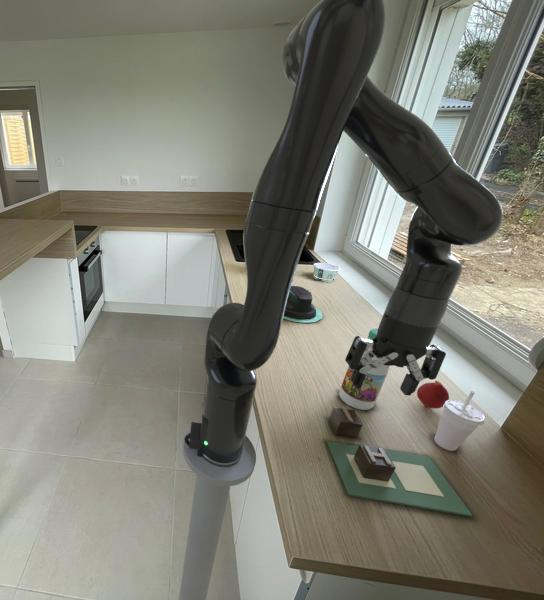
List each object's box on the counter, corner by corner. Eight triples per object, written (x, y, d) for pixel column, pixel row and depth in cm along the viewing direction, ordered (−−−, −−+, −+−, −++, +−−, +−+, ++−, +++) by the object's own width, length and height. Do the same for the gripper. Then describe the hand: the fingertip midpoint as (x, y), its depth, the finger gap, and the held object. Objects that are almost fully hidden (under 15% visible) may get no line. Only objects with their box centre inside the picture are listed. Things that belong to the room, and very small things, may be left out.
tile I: (335, 434, 72) (340, 420, 70) (328, 419, 76) (333, 405, 74) (357, 438, 71) (363, 423, 69) (349, 422, 75) (354, 408, 73)
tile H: (363, 478, 62) (370, 462, 60) (353, 458, 66) (359, 443, 64) (388, 482, 61) (396, 466, 59) (377, 461, 65) (384, 446, 63)
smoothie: (454, 436, 72) (484, 387, 66) (471, 459, 67) (505, 408, 61) (421, 429, 74) (447, 380, 68) (434, 451, 68) (464, 400, 63)
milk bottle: (343, 385, 87) (367, 321, 79) (376, 400, 82) (405, 333, 74) (334, 399, 82) (358, 332, 74) (368, 415, 77) (399, 345, 69)
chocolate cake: (256, 300, 134) (294, 296, 141) (278, 338, 124) (318, 332, 130) (275, 277, 123) (315, 273, 129) (301, 317, 112) (343, 311, 119)
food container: (318, 272, 171) (321, 261, 168) (341, 280, 162) (345, 267, 159) (305, 277, 165) (308, 264, 162) (328, 284, 156) (332, 271, 153)
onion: (434, 401, 82) (447, 376, 79) (446, 417, 77) (461, 392, 74) (408, 396, 84) (420, 372, 81) (418, 412, 79) (431, 386, 76)
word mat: (348, 495, 59) (349, 493, 59) (326, 442, 70) (327, 440, 69) (471, 517, 56) (472, 514, 56) (428, 458, 67) (430, 456, 67)
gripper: (444, 310, 57) (410, 382, 64) (358, 301, 60) (333, 372, 66) (475, 330, 51) (433, 409, 57) (376, 320, 53) (347, 396, 60)
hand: (379, 389), depth 62 cm, fingers open, 8 cm apart
